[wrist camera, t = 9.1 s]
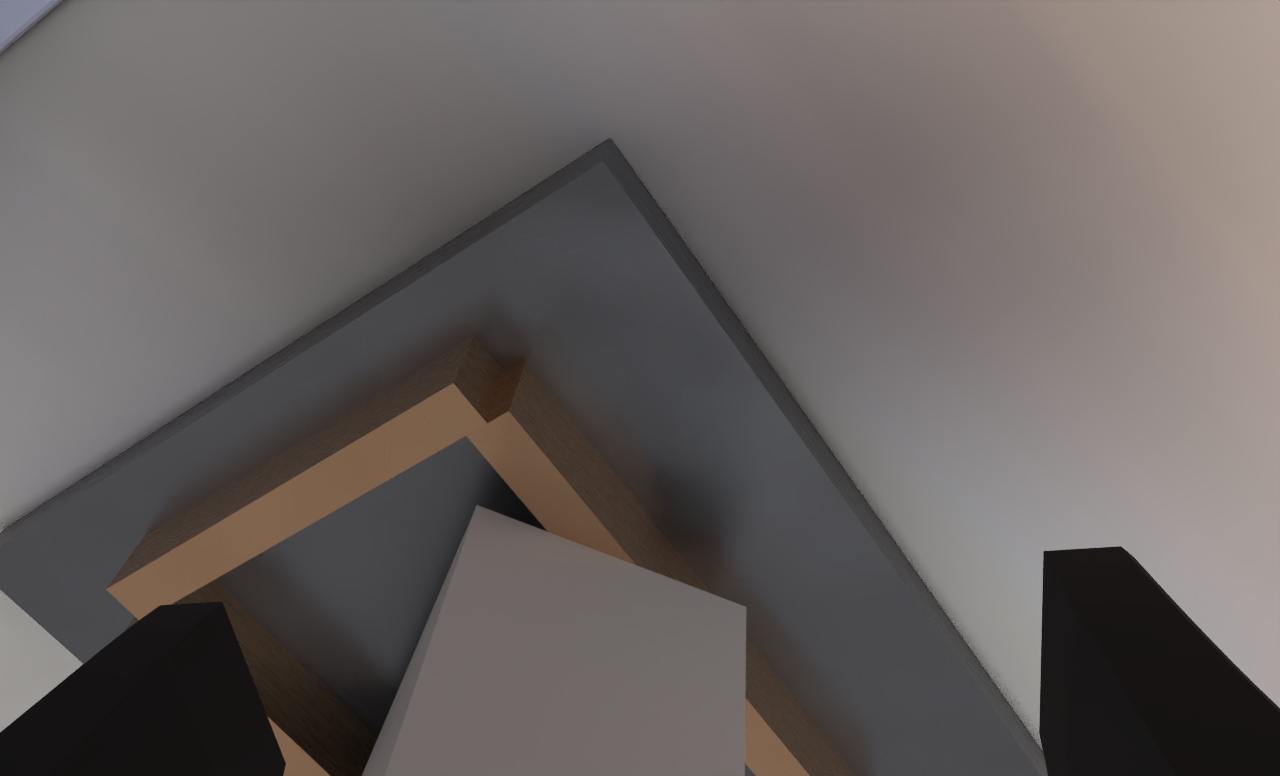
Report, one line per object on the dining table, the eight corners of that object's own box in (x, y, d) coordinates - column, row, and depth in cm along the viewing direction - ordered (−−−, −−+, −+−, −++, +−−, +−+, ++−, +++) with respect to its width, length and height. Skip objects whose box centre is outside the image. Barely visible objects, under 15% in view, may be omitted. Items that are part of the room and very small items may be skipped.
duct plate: (1, 531, 23) (-77, 619, 21) (610, 137, 18) (591, 199, 16) (489, 978, 29) (467, 1084, 26) (1054, 767, 24) (1083, 876, 22)
